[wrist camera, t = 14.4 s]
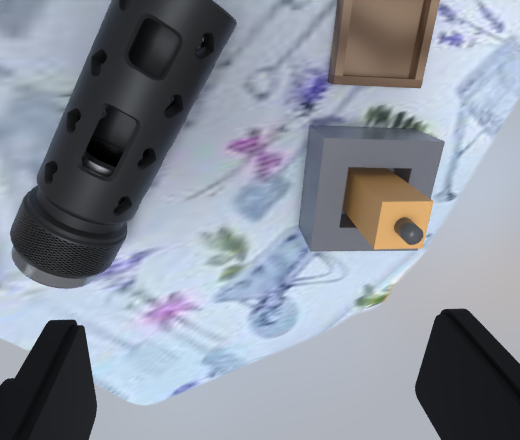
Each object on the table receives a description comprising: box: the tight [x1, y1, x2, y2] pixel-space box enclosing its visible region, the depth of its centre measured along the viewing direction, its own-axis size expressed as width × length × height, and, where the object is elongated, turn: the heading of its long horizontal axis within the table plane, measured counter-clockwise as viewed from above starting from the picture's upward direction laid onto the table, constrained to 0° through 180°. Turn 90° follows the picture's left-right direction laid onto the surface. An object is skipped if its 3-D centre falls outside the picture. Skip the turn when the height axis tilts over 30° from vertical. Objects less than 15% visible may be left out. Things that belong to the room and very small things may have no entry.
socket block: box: [299, 125, 445, 251], centre depth 42 cm, size 12×12×6 cm
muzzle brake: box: [10, 0, 236, 289], centre depth 35 cm, size 10×28×10 cm, turn 148°
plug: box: [342, 167, 433, 249], centre depth 37 cm, size 4×4×12 cm
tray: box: [328, 0, 440, 88], centre depth 38 cm, size 9×9×2 cm
